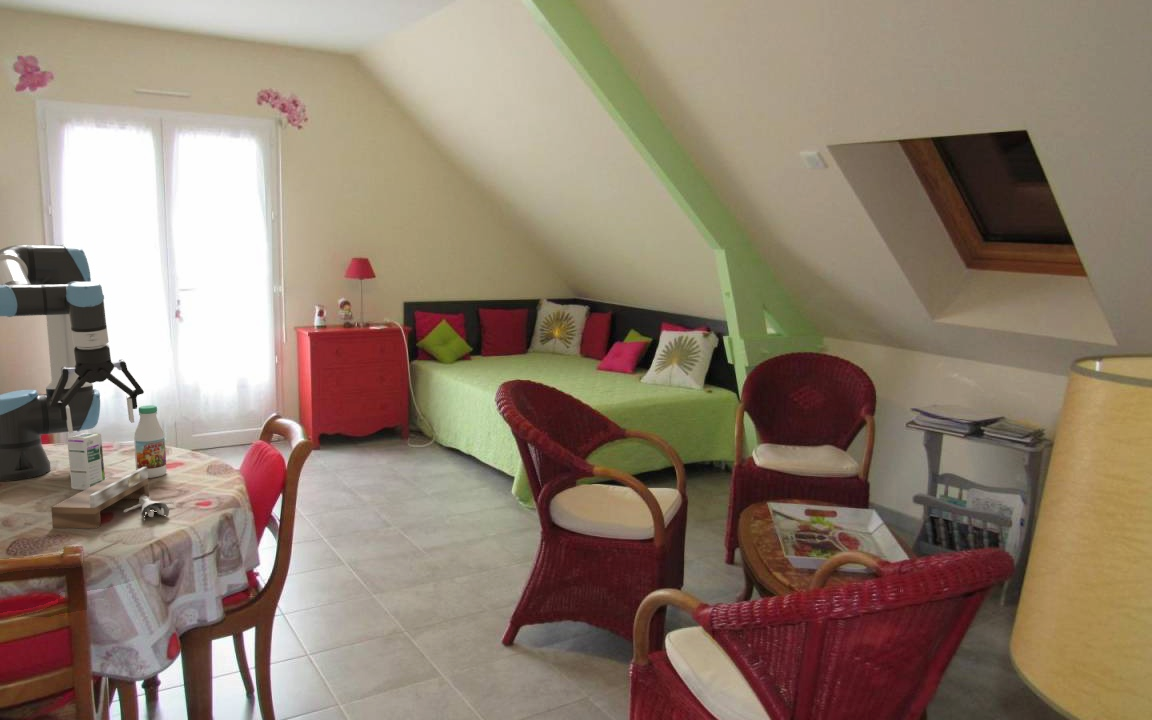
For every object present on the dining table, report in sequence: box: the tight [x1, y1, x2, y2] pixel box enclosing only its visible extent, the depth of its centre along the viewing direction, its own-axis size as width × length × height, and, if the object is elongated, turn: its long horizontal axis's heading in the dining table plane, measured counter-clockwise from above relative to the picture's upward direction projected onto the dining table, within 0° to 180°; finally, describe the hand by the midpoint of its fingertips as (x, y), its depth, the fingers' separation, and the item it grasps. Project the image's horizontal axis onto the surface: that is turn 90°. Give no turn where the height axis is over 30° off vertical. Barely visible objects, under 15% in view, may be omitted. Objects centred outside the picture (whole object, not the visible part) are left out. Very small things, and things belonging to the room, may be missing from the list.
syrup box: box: [66, 432, 106, 491], centre depth 217 cm, size 6×6×14 cm
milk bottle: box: [133, 404, 167, 479], centre depth 228 cm, size 8×8×20 cm
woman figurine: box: [123, 495, 176, 521], centre depth 199 cm, size 12×4×18 cm
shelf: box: [51, 467, 150, 529], centre depth 199 cm, size 24×10×8 cm, turn 1°
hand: (101, 426), depth 203 cm, fingers open, 13 cm apart
